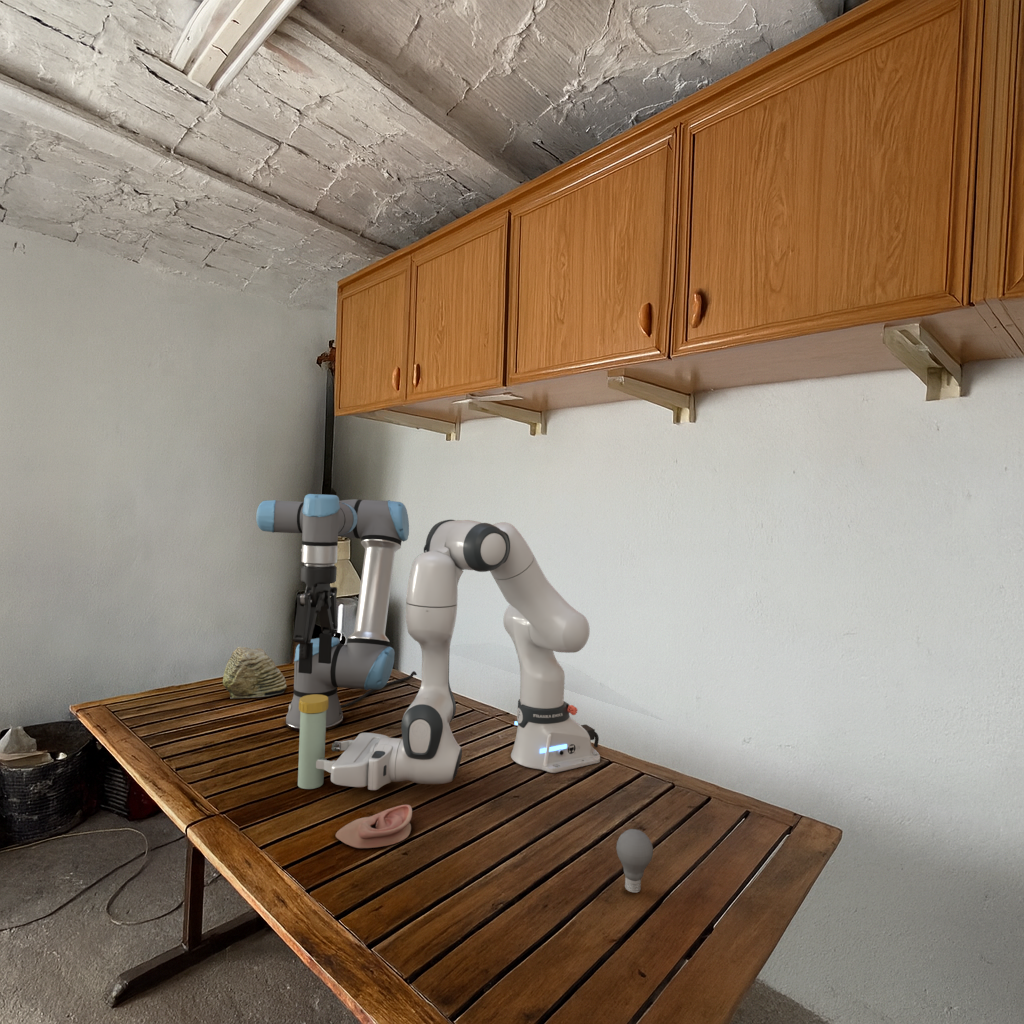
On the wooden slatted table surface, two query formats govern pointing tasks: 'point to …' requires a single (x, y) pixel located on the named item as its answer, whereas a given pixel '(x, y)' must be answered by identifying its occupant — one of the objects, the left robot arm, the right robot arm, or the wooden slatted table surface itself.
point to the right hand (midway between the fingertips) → (325, 754)
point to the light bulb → (634, 857)
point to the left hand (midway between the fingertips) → (315, 667)
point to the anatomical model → (378, 828)
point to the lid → (313, 703)
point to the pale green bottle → (311, 749)
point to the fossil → (252, 674)
